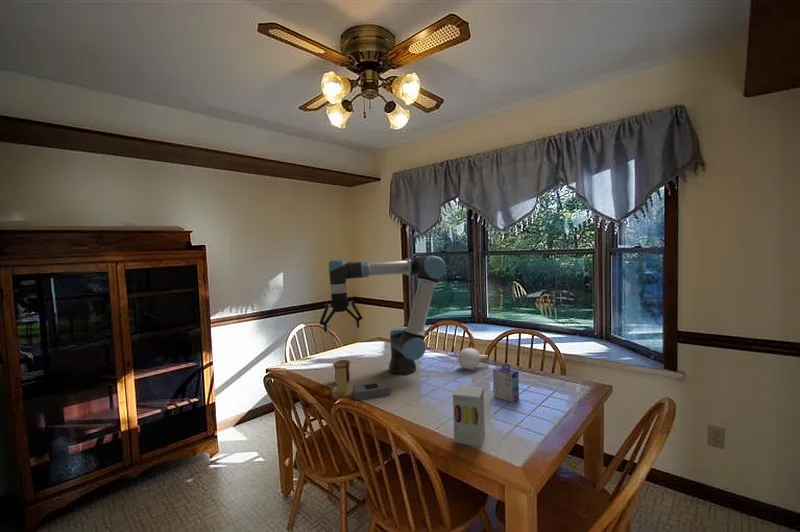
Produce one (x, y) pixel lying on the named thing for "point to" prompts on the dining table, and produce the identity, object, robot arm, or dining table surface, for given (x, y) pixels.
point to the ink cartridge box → (505, 383)
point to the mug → (346, 368)
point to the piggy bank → (470, 358)
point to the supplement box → (469, 415)
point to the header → (371, 390)
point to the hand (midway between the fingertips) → (342, 336)
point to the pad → (342, 394)
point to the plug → (341, 378)
